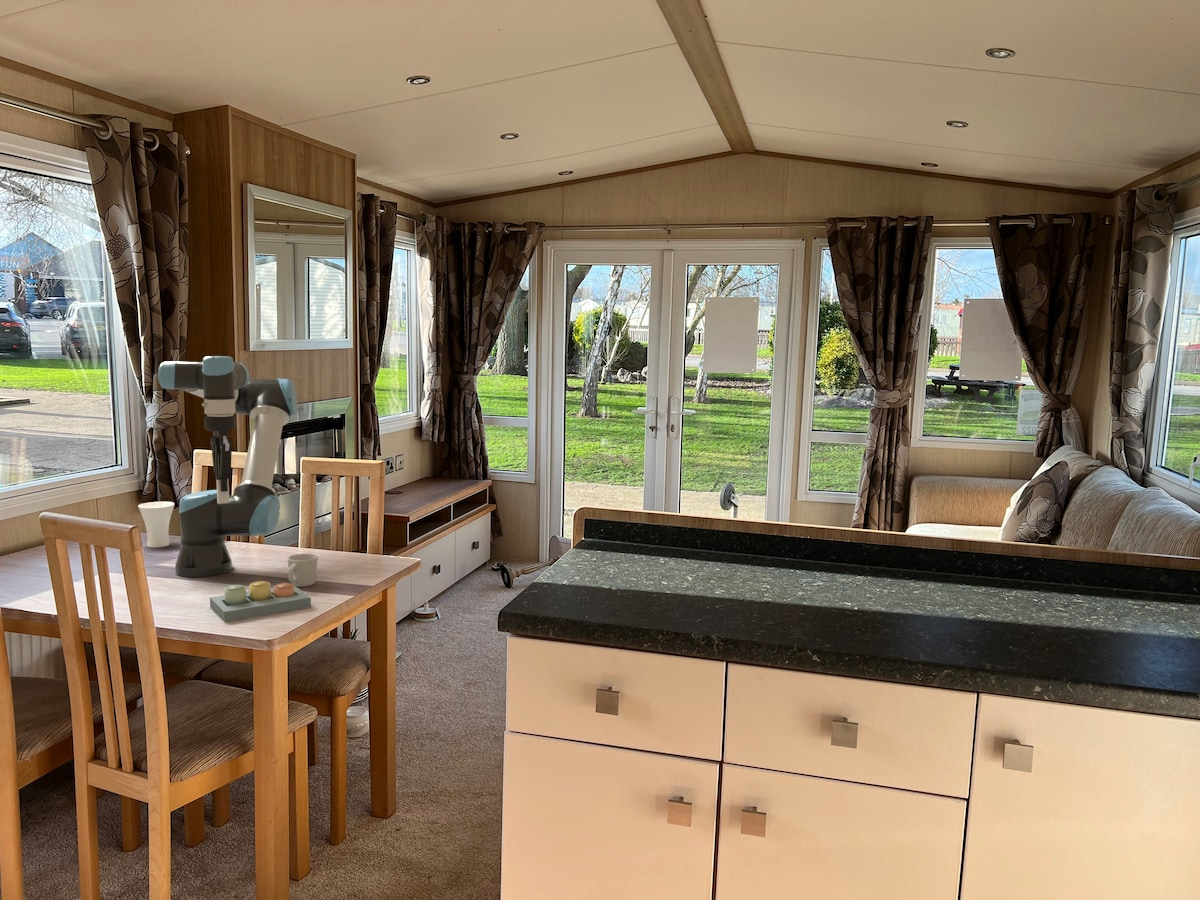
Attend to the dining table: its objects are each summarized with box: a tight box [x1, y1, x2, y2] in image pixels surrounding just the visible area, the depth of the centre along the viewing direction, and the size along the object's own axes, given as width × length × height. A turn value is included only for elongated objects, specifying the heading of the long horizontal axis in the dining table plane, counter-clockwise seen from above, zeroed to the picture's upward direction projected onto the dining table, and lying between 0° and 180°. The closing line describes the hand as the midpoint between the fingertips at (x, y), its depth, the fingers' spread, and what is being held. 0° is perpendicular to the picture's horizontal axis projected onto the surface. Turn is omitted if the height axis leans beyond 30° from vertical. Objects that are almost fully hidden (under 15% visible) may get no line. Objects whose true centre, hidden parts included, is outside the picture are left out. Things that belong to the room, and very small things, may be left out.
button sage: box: [224, 584, 247, 606], centre depth 219 cm, size 5×5×4 cm
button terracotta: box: [273, 582, 294, 598], centre depth 227 cm, size 5×5×4 cm
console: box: [209, 586, 312, 623], centre depth 223 cm, size 14×21×3 cm, turn 127°
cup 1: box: [137, 501, 175, 548], centre depth 283 cm, size 10×10×14 cm
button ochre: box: [249, 580, 272, 602], centre depth 223 cm, size 5×5×4 cm
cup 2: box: [287, 553, 319, 588], centre depth 242 cm, size 11×8×8 cm
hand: (223, 502), depth 233 cm, fingers closed
